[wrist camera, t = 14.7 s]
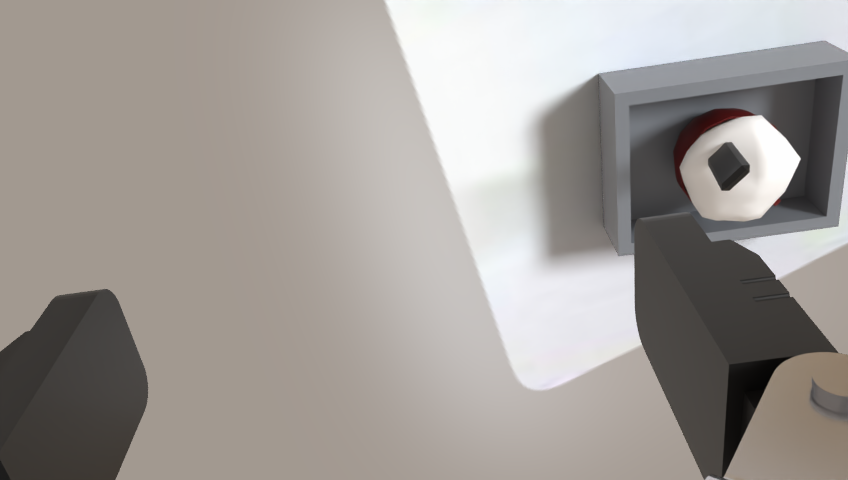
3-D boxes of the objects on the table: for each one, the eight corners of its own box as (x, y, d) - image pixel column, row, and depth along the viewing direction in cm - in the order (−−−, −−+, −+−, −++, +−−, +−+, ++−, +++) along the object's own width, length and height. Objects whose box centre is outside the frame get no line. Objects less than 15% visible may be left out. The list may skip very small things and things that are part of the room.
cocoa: (774, 172, 50) (886, 270, 40) (683, 217, 51) (769, 324, 41) (730, 45, 46) (843, 119, 35) (632, 98, 47) (713, 183, 36)
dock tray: (598, 73, 47) (614, 94, 44) (824, 40, 47) (859, 58, 43) (603, 226, 52) (618, 256, 49) (808, 198, 52) (838, 226, 48)
